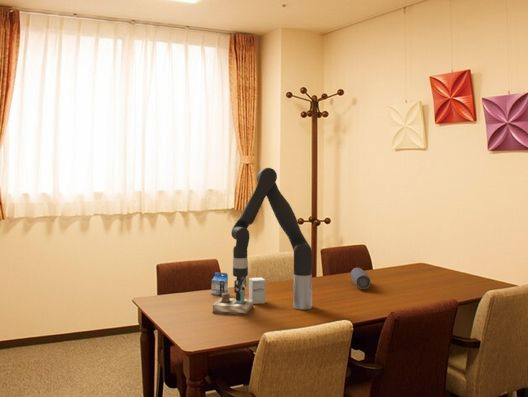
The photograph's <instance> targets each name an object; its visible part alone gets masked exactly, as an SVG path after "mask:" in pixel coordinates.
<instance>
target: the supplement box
mask: <svg viewBox="0 0 528 397" xmlns="http://www.w3.org/2000/svg"><path fill="white" fill-rule="evenodd" d="M248 299H252V300H253V305H257V304H266V279H265V278H263V277H249V278H248Z"/></svg>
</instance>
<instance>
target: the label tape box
mask: <svg viewBox="0 0 528 397" xmlns="http://www.w3.org/2000/svg"><path fill="white" fill-rule="evenodd" d="M228 289H229V276H228V273H227V272H218V271H215V272H214V276H213V278H212V279H211V290H210V291H211V295H214V296H221V297H222V293H229V292H228V291H229V290H228Z"/></svg>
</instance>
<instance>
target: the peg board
mask: <svg viewBox="0 0 528 397" xmlns="http://www.w3.org/2000/svg"><path fill="white" fill-rule="evenodd" d="M230 295H231V294H230V292H228V293H222V296H221V297H220V298H219V299H218V300H216V302H214V303H213V304H212V313H213V314H224V315H241V316H247V315H248V314H249V312H250V311H251V310H252V309H253V308H254V306H253V305H254V304H253V300H252V299H249V298H244V304H236V298H233V297H232V298H231V296H230Z"/></svg>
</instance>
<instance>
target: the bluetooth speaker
mask: <svg viewBox="0 0 528 397" xmlns="http://www.w3.org/2000/svg"><path fill="white" fill-rule="evenodd" d="M350 278H351V280H352V282H353V283H354V285H355V287H357V289H360V290H366V289H368V288H369V287H370V285H371V283H372V281H371V279H370V278H371V277H370V276H369V274H368V273H367V272H366V271H364V270H363V268H361V267H355V268H353V269H352V270H350Z"/></svg>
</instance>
